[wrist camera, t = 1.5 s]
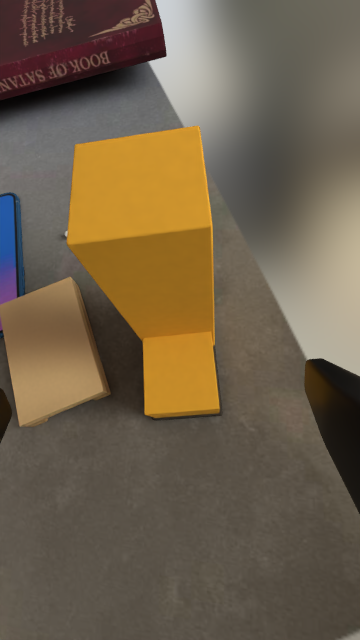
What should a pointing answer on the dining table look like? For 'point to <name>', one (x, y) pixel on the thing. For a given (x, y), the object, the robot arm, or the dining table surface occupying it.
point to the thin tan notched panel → (51, 352)
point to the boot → (153, 258)
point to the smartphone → (10, 250)
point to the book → (73, 40)
